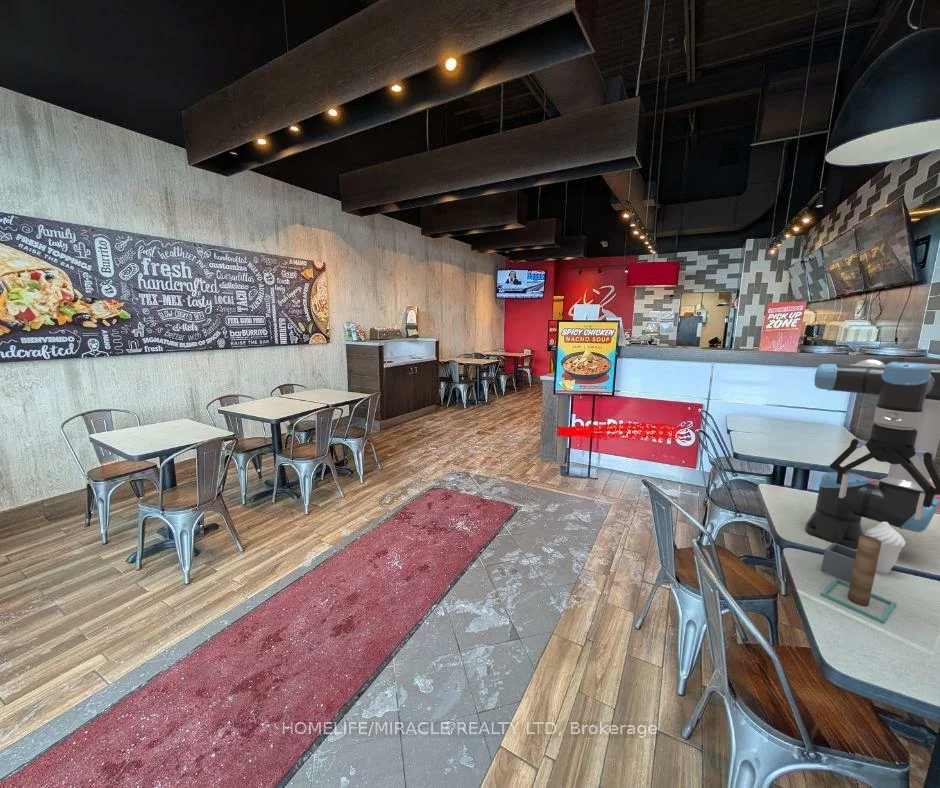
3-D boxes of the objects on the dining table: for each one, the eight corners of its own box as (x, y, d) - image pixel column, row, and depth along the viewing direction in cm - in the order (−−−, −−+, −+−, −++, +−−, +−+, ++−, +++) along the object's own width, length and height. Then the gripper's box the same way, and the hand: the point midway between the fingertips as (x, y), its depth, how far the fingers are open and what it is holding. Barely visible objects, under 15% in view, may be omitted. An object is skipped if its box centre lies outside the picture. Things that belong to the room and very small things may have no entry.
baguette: (849, 594, 105) (861, 533, 102) (870, 602, 102) (883, 540, 99) (845, 599, 103) (857, 538, 100) (865, 608, 100) (879, 545, 96)
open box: (828, 566, 119) (833, 542, 118) (862, 579, 113) (868, 554, 111) (820, 573, 115) (824, 549, 114) (854, 588, 109) (860, 562, 107)
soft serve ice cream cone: (906, 582, 112) (918, 531, 109) (872, 578, 113) (883, 528, 111) (882, 565, 120) (892, 517, 117) (850, 561, 122) (860, 514, 119)
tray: (834, 583, 111) (835, 577, 110) (895, 609, 101) (896, 603, 100) (819, 598, 104) (820, 592, 104) (882, 627, 94) (884, 621, 94)
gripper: (823, 417, 103) (810, 491, 106) (975, 441, 82) (952, 532, 86) (833, 414, 107) (819, 486, 110) (980, 436, 86) (958, 524, 90)
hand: (877, 506), depth 98 cm, fingers open, 13 cm apart
